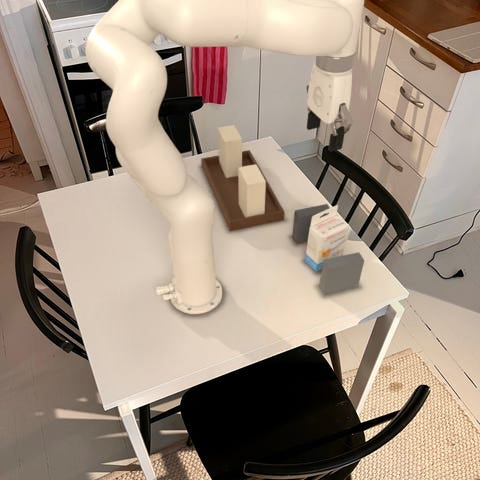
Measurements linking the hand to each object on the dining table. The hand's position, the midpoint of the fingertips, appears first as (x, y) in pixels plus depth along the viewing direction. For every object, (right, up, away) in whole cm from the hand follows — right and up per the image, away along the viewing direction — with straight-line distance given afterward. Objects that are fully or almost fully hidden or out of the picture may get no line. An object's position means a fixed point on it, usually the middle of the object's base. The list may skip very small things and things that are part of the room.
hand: (323, 138), depth 112 cm
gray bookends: (+3, -25, +17) cm, 31 cm away
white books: (-19, -3, +35) cm, 40 cm away
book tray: (-19, -3, +35) cm, 40 cm away
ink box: (+3, -26, +17) cm, 31 cm away
